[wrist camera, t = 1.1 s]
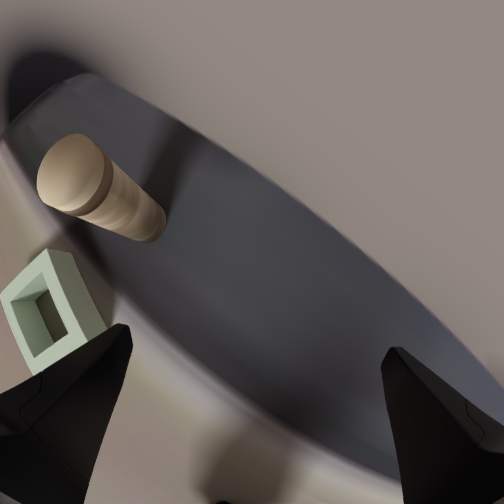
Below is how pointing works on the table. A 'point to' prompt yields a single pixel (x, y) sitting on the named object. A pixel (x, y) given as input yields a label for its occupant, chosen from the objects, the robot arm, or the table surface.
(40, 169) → the beige cylinder
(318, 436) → the table surface
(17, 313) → the square frame
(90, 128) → the table surface
